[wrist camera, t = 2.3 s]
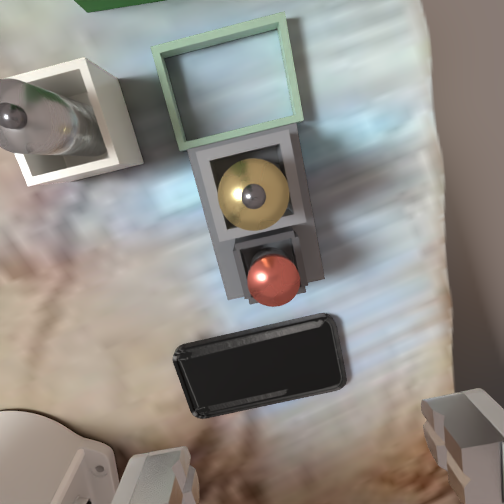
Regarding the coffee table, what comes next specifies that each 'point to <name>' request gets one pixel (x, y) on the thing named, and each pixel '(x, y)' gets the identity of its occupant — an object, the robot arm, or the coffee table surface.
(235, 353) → the phone
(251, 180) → the cell
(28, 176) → the white square bin
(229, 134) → the pale green rectangular frame
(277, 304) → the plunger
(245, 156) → the grey socket holder
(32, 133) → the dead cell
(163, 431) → the coffee table surface
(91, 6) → the hardback book
